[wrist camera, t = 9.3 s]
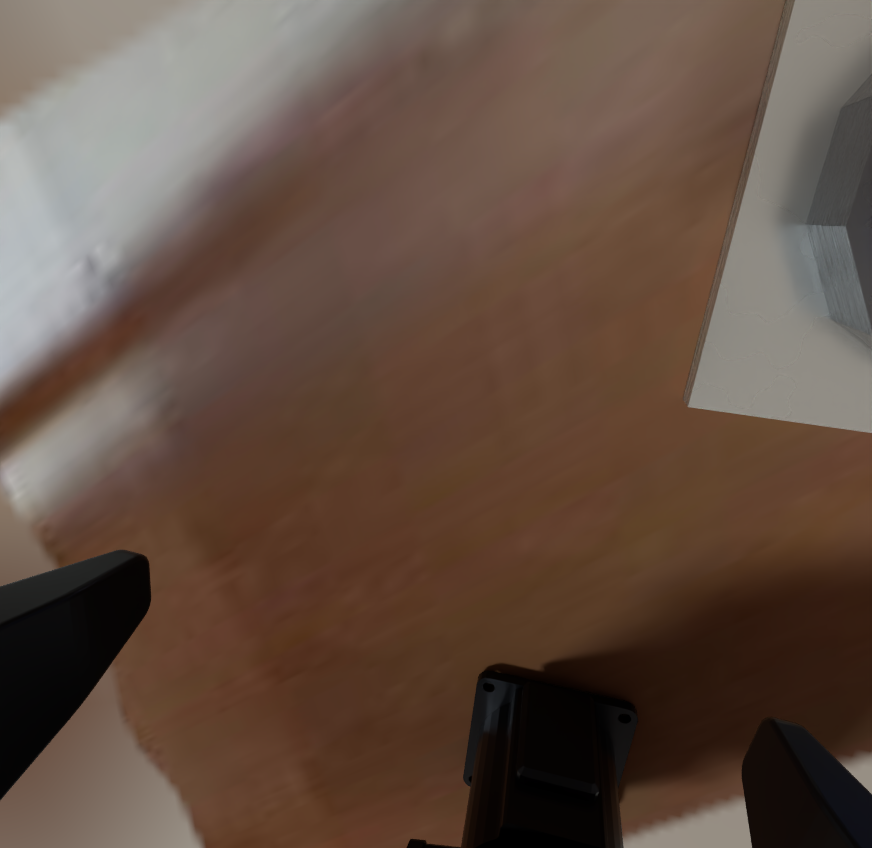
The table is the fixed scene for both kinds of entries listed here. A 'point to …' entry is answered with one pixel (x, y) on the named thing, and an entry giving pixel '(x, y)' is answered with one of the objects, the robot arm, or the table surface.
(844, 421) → the collar
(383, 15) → the table surface
